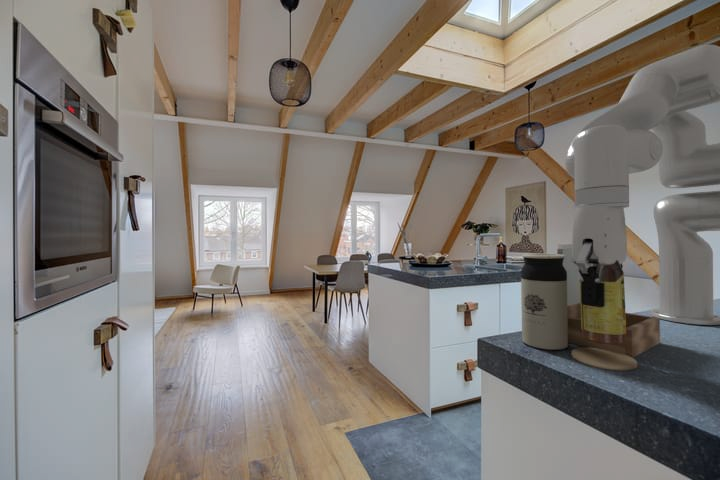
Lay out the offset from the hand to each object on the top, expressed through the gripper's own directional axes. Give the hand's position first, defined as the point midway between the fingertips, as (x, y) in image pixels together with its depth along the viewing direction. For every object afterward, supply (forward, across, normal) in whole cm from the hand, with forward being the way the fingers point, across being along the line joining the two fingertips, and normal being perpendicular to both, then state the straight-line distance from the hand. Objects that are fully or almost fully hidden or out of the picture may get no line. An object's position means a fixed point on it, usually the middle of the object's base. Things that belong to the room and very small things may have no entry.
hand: (602, 302), depth 55 cm
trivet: (+10, 0, 0) cm, 10 cm away
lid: (+10, -12, -9) cm, 18 cm away
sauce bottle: (+7, 0, 0) cm, 7 cm away
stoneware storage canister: (+10, 0, -10) cm, 14 cm away
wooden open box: (+10, -12, -4) cm, 16 cm away
